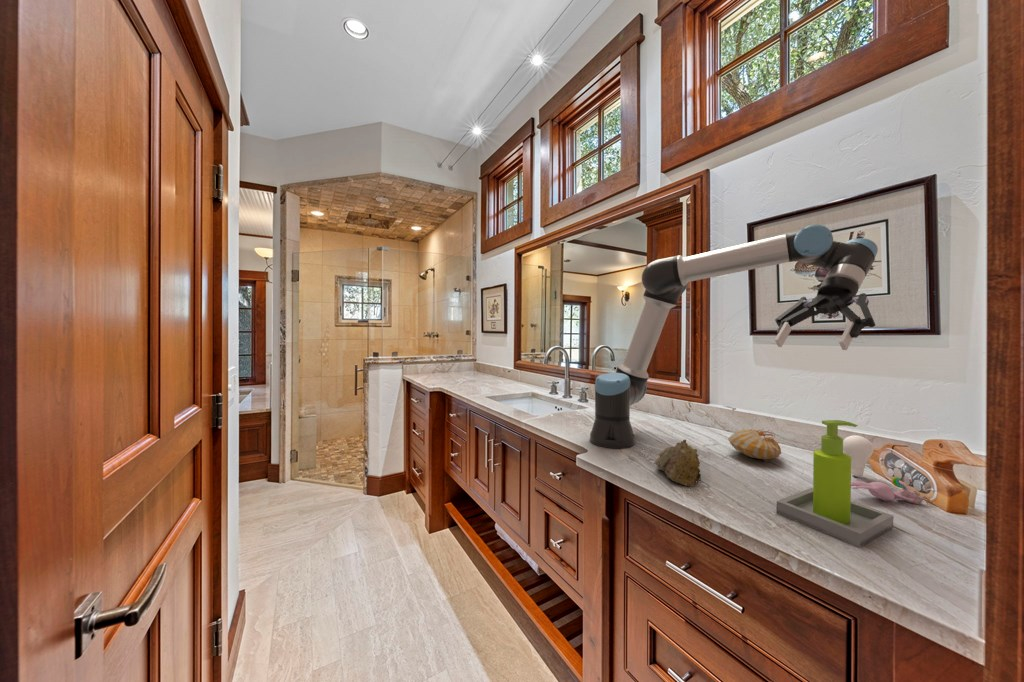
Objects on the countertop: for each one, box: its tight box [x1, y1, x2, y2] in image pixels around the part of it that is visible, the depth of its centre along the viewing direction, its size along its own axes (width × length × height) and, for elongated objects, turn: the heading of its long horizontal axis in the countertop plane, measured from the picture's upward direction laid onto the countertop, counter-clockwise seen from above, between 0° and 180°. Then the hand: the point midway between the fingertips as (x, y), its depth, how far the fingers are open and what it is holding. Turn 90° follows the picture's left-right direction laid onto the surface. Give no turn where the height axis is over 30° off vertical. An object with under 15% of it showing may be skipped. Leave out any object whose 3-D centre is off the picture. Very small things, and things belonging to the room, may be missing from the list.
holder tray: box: [776, 487, 894, 548], centre depth 77 cm, size 14×14×3 cm
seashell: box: [654, 439, 702, 487], centre depth 100 cm, size 11×14×10 cm
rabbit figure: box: [851, 476, 931, 506], centre depth 85 cm, size 6×6×15 cm
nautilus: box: [727, 427, 782, 461], centre depth 114 cm, size 8×22×15 cm
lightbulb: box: [843, 434, 875, 478], centre depth 98 cm, size 6×6×11 cm
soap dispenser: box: [812, 419, 858, 524], centre depth 76 cm, size 6×7×20 cm
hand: (808, 344), depth 90 cm, fingers open, 13 cm apart
